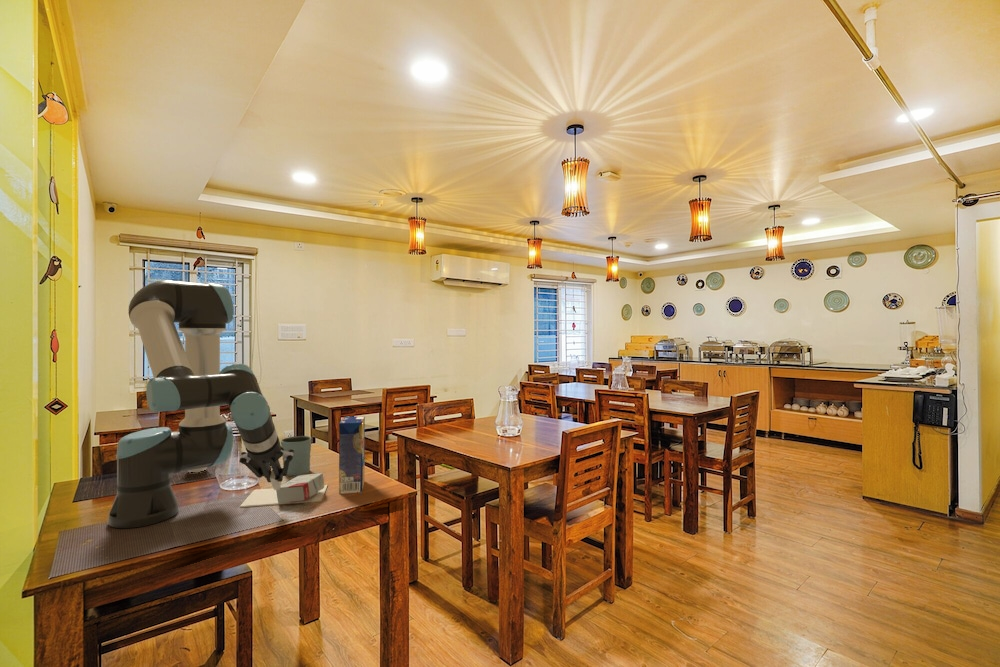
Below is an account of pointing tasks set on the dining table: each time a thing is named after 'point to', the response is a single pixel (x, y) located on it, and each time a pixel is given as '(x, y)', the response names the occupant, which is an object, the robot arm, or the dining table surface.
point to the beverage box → (351, 454)
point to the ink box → (300, 488)
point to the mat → (275, 498)
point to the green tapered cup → (298, 454)
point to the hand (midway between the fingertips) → (277, 485)
